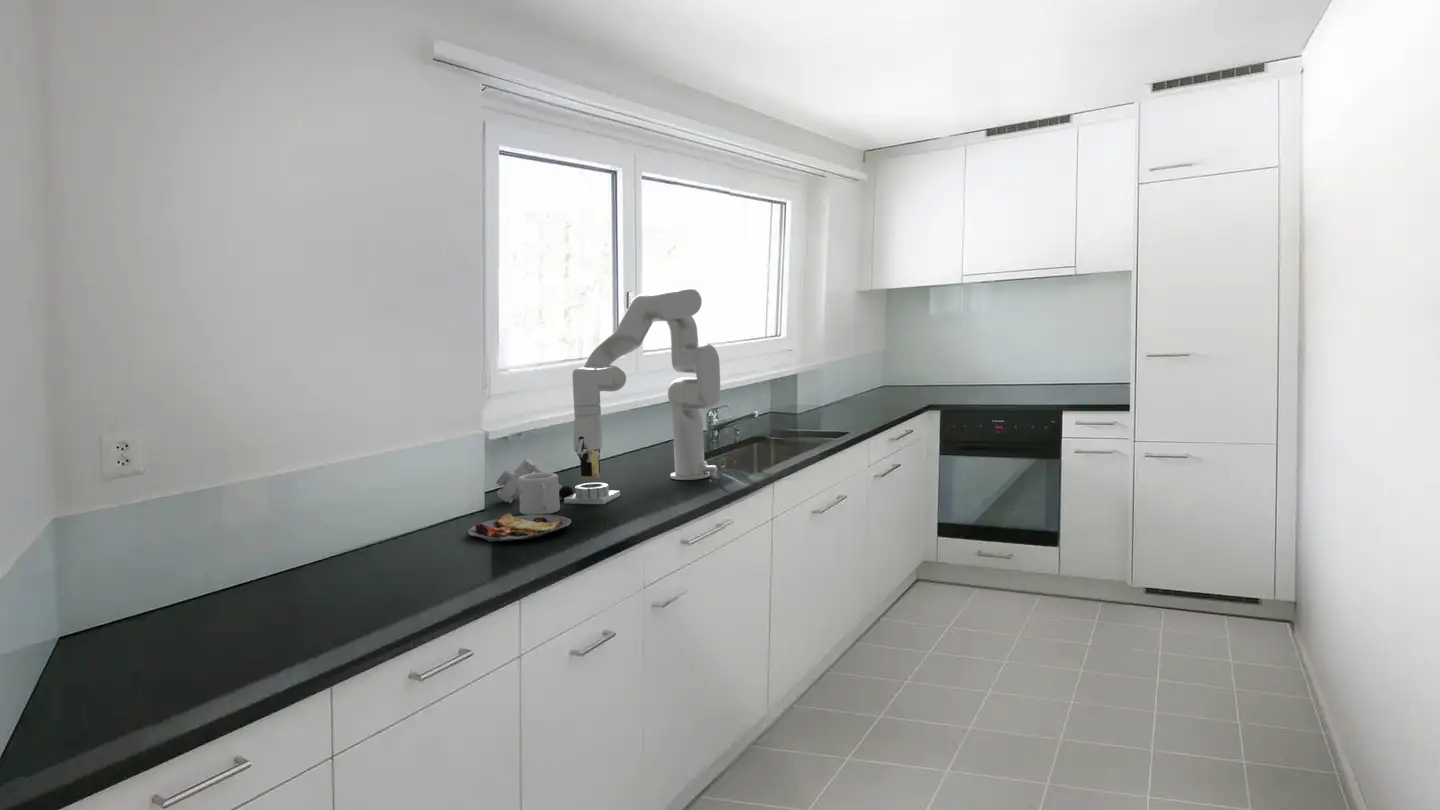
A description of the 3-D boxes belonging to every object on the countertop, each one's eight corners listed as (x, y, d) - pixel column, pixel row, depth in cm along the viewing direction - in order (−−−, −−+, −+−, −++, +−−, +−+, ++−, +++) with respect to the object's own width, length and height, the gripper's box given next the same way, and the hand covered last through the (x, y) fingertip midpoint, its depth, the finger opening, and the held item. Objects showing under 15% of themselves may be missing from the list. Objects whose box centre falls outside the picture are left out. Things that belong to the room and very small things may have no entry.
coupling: (587, 475, 281) (585, 450, 280) (601, 476, 279) (600, 450, 278) (580, 478, 276) (578, 452, 275) (594, 478, 275) (593, 452, 274)
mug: (516, 510, 268) (514, 474, 267) (555, 506, 272) (553, 470, 271) (526, 519, 255) (523, 482, 254) (566, 514, 259) (564, 477, 258)
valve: (542, 536, 278) (572, 496, 275) (486, 494, 276) (516, 454, 273) (549, 525, 288) (579, 487, 285) (495, 484, 286) (525, 446, 284)
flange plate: (620, 495, 282) (619, 482, 282) (603, 504, 271) (602, 490, 271) (582, 495, 286) (581, 481, 286) (564, 503, 275) (563, 489, 274)
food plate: (448, 540, 236) (447, 526, 236) (514, 520, 256) (513, 507, 256) (525, 549, 224) (524, 534, 223) (588, 528, 243) (588, 514, 243)
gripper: (588, 408, 285) (591, 469, 287) (562, 414, 269) (565, 479, 271) (611, 408, 283) (614, 469, 285) (586, 414, 267) (590, 480, 268)
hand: (590, 473), depth 278 cm, fingers closed on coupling, 4 cm apart
